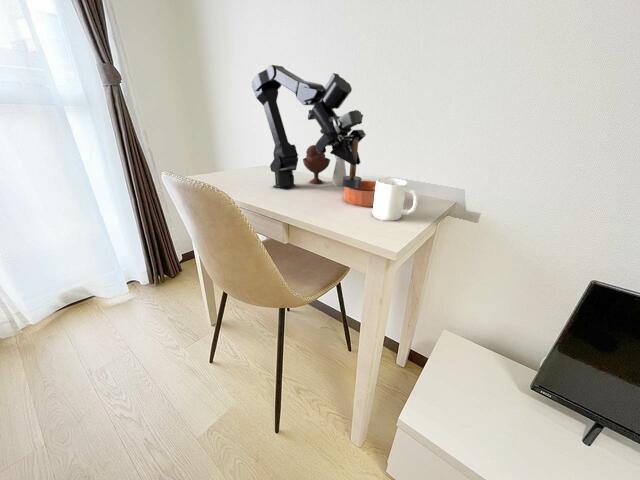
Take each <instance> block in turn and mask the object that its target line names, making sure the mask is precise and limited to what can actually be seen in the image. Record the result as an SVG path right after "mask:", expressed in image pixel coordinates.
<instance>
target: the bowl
mask: <svg viewBox="0 0 640 480" xmlns="http://www.w3.org/2000/svg"><path fill="white" fill-rule="evenodd" d="M375 189H376V181H375V180H373V181H372V180H363V179H361V187H359V188H347V187H344V186H343V197H342V199H343V200H344V201H345V202H346V203H348V204H350V205H353V206H357V207H364V208H366V207H367V208H368V207H370V208H371V207H372V208H373V206H374V197H375Z"/></svg>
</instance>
